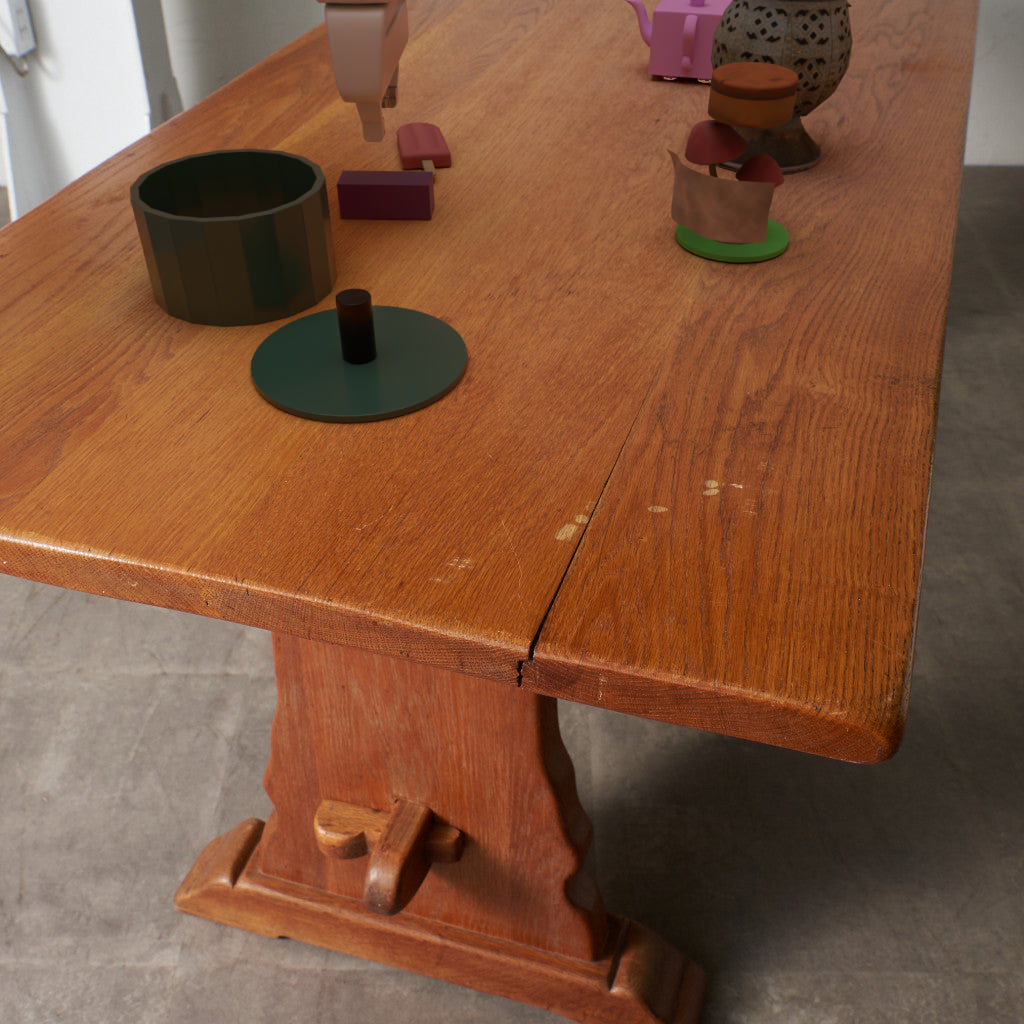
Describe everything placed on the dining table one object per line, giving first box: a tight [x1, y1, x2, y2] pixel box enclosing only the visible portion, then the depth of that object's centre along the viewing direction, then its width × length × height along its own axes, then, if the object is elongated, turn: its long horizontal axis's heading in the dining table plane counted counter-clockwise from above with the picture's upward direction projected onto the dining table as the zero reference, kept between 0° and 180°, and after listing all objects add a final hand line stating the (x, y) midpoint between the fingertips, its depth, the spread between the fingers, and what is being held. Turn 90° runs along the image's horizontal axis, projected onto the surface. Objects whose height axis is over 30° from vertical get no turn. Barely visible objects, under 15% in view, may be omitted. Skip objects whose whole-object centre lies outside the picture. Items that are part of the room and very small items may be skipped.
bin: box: [129, 148, 338, 328], centre depth 85 cm, size 15×16×10 cm
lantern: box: [711, 0, 854, 175], centre depth 106 cm, size 14×14×25 cm
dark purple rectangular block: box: [336, 170, 436, 221], centre depth 100 cm, size 9×4×4 cm, turn 88°
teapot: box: [624, 0, 732, 81], centre depth 134 cm, size 18×14×10 cm
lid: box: [249, 288, 468, 424], centre depth 76 cm, size 16×16×6 cm
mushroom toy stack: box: [666, 62, 799, 263], centre depth 91 cm, size 12×13×15 cm
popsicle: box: [396, 121, 452, 178], centre depth 112 cm, size 5×2×15 cm
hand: (382, 122), depth 95 cm, fingers open, 8 cm apart
